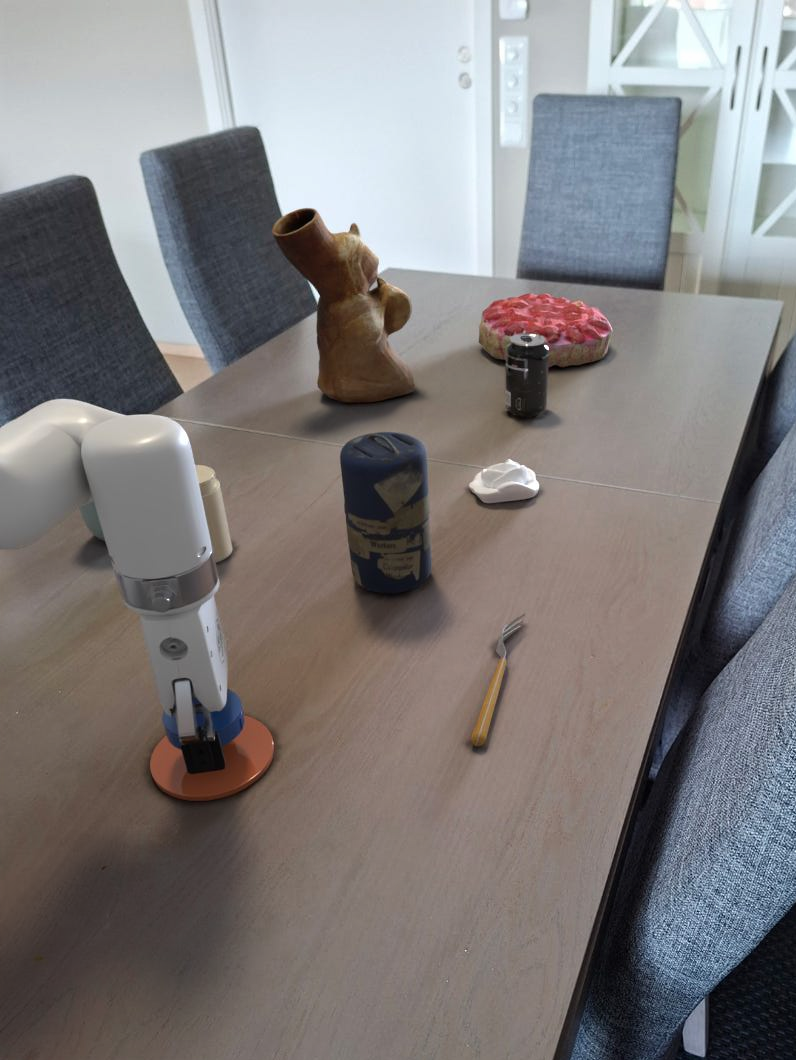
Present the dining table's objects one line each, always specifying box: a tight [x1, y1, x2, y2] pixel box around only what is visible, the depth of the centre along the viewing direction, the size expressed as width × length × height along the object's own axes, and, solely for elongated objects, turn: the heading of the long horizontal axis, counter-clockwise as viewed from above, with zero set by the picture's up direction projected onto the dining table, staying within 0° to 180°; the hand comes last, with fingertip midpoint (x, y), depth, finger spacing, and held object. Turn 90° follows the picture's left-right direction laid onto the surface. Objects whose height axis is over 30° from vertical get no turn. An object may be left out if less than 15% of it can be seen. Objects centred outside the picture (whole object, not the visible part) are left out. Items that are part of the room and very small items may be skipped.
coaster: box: [149, 714, 275, 802], centre depth 82 cm, size 11×11×1 cm
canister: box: [339, 431, 432, 594], centre depth 102 cm, size 10×10×18 cm
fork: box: [470, 613, 526, 747], centre depth 91 cm, size 2×2×20 cm
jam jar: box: [195, 464, 233, 564], centre depth 109 cm, size 6×6×11 cm
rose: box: [468, 458, 540, 504], centre depth 124 cm, size 10×4×10 cm
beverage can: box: [504, 333, 549, 418], centre depth 145 cm, size 7×7×12 cm
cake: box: [478, 292, 614, 368], centre depth 171 cm, size 25×25×8 cm
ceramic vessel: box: [271, 207, 416, 403], centre depth 146 cm, size 16×22×30 cm
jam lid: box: [161, 688, 245, 750], centre depth 80 cm, size 7×7×2 cm
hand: (208, 739), depth 81 cm, fingers closed on jam lid, 6 cm apart
